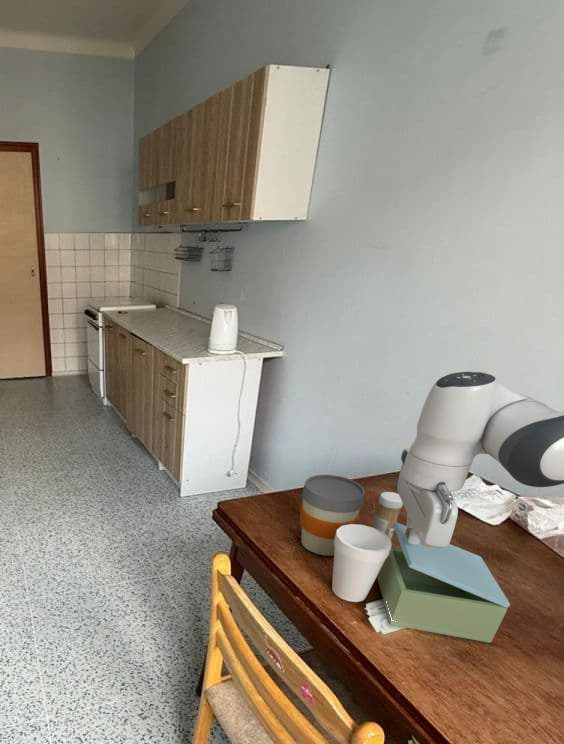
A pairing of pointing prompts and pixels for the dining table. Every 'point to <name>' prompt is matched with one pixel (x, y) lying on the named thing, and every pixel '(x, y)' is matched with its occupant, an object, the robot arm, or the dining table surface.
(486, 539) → the dining table surface
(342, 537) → the foam cup
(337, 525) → the reusable coffee cup
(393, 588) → the display box
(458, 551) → the hatch
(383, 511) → the sprinkles bottle
